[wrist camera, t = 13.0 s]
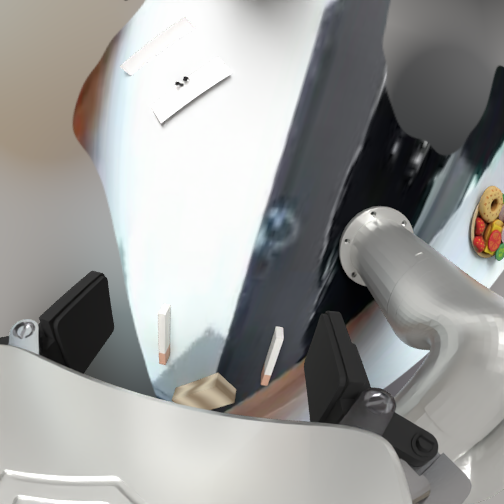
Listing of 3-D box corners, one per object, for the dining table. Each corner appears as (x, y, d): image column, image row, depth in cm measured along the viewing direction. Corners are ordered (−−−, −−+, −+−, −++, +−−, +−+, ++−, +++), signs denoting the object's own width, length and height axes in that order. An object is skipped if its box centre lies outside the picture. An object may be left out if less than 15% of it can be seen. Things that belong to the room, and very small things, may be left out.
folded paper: (163, 124, 34) (158, 123, 32) (125, 69, 31) (119, 66, 29) (234, 74, 31) (232, 70, 29) (189, 21, 28) (186, 16, 26)
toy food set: (479, 177, 33) (490, 180, 30) (514, 200, 33) (524, 204, 30) (458, 247, 38) (468, 254, 35) (495, 261, 38) (504, 267, 35)
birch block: (218, 371, 50) (215, 386, 46) (236, 388, 51) (234, 402, 48) (176, 386, 53) (171, 400, 49) (194, 401, 54) (190, 415, 51)
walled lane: (282, 327, 44) (283, 338, 42) (267, 374, 49) (267, 385, 46) (163, 303, 44) (158, 313, 41) (164, 353, 48) (159, 363, 46)
